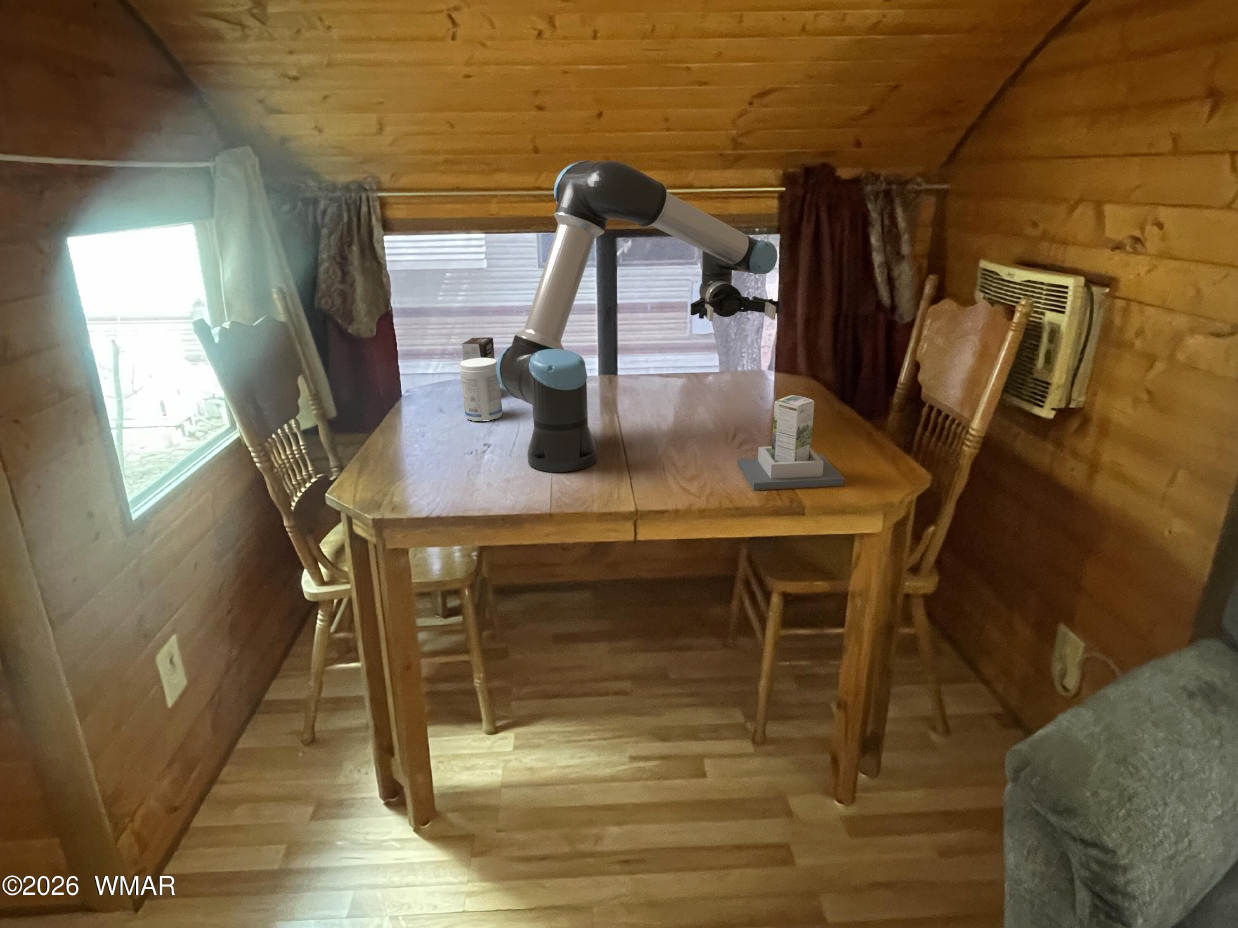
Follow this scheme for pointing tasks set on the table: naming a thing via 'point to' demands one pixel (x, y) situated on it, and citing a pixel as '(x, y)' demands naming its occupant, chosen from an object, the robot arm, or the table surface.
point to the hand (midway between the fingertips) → (742, 314)
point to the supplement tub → (481, 389)
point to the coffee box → (478, 348)
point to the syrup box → (792, 429)
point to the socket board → (788, 472)
